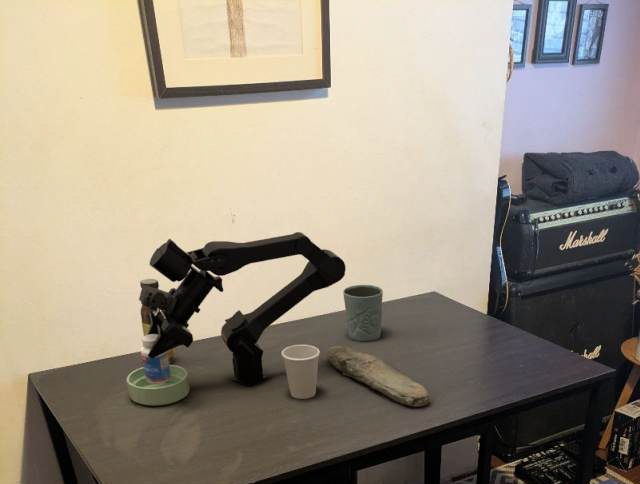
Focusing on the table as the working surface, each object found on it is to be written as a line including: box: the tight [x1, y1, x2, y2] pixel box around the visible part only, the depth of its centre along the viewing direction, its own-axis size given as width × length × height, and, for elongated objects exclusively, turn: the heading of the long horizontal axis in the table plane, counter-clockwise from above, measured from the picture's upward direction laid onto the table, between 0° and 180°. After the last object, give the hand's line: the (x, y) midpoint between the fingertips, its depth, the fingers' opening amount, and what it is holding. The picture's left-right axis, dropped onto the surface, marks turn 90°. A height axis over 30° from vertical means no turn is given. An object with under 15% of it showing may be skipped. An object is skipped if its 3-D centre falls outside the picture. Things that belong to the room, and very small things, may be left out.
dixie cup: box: [281, 344, 321, 400], centre depth 171 cm, size 8×8×10 cm
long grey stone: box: [326, 345, 430, 408], centre depth 178 cm, size 35×5×10 cm
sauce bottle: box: [139, 278, 174, 365], centre depth 182 cm, size 7×6×20 cm
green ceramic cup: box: [342, 284, 384, 342], centre depth 200 cm, size 10×10×12 cm
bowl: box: [126, 364, 191, 407], centre depth 172 cm, size 13×13×4 cm
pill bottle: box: [140, 334, 171, 384], centre depth 168 cm, size 6×5×10 cm
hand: (147, 352), depth 167 cm, fingers closed on pill bottle, 5 cm apart
